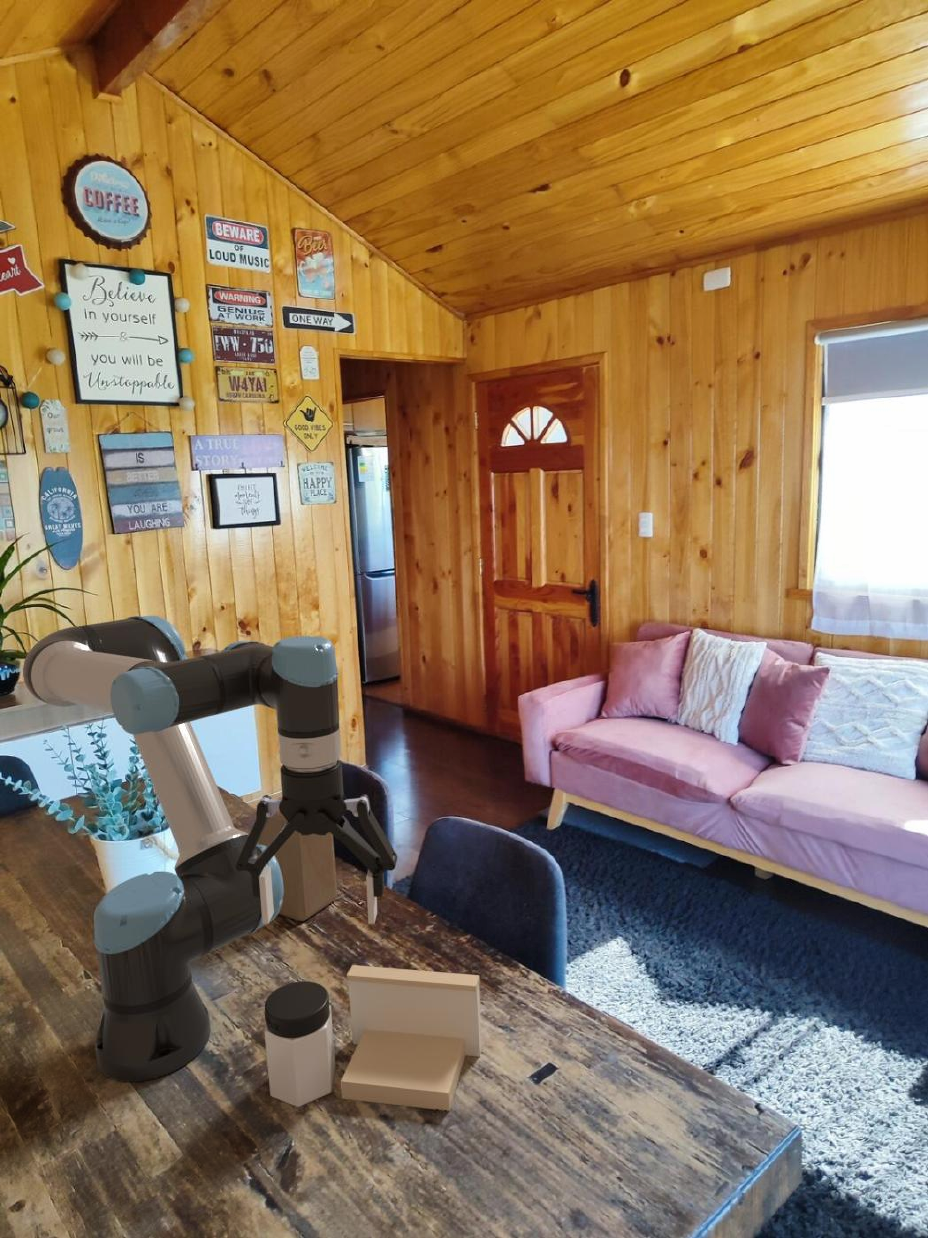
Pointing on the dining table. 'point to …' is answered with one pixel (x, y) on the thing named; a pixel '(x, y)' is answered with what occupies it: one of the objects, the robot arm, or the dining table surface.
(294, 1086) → the jar
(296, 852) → the wooden block
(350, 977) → the cleat board
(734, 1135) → the dining table surface
